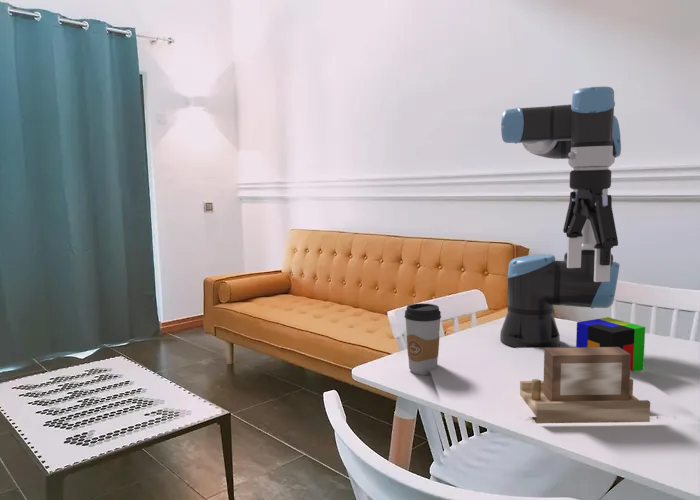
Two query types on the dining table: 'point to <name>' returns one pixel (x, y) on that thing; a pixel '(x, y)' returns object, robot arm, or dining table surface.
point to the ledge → (582, 407)
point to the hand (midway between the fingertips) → (586, 274)
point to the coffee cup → (422, 337)
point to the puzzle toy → (613, 337)
